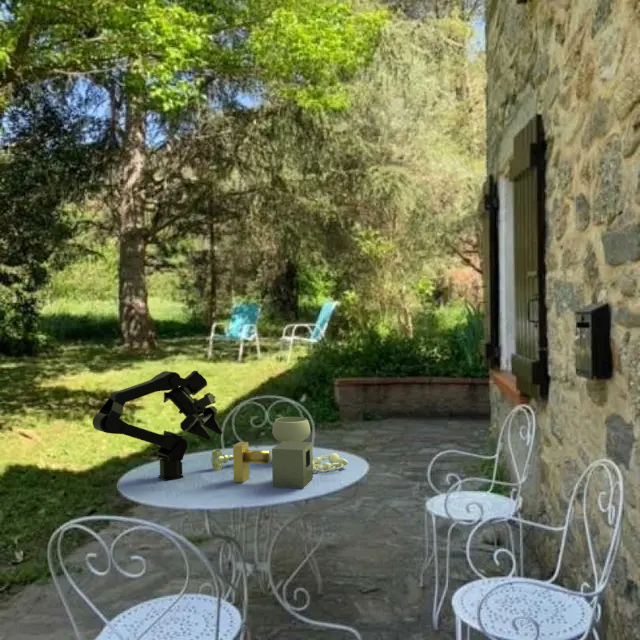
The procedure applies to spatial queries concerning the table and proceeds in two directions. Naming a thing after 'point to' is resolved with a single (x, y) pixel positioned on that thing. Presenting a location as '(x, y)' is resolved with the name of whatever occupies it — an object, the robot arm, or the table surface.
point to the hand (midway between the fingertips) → (216, 436)
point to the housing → (292, 464)
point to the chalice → (291, 429)
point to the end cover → (246, 460)
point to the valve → (219, 459)
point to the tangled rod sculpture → (327, 466)
